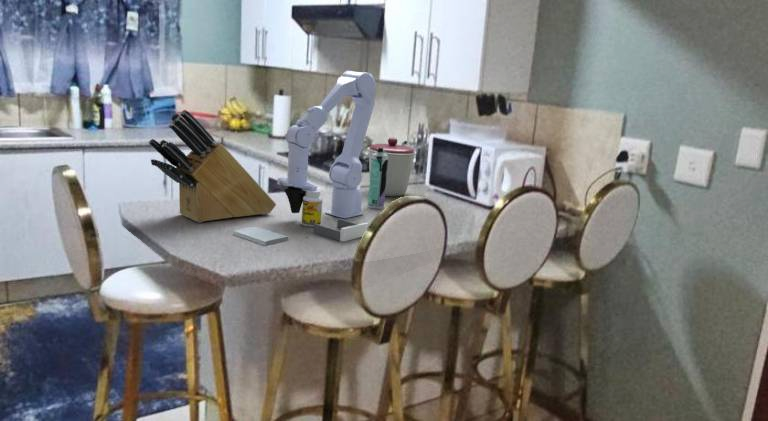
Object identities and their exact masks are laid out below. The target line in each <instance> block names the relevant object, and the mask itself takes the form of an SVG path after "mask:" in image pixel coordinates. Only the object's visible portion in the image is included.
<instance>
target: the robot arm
mask: <svg viewBox="0 0 768 421" xmlns="http://www.w3.org/2000/svg"><path fill="white" fill-rule="evenodd" d="M376 88H377V82H376V81H375V78H374V76H373V74H372V73H370V72H365V71H364V72H361V71H353V70H346V71H345V72H343V73H342V75H341V76H339V77H338V79H337V81H336V84H335V85H334V87H332V89H331V90H330V91H329V93H328V94H327V95H326V96H325V97H324V99H323V100H322V102H321V103H320V104H319V105H313V106H312V107H309V108H308V109H307V112H306V113H305V114H304V115H303V117H301V118H300V119H298V120H297V121H296V124H293V125H290V127H289V128H288V130H287V132H286V133H285V134H284V137H285V140H286V142H287V144H288V147H287V148H288V153H287V154H288V155H287V157H288V158H287V174H286V175H287V176H286V177H284V176H283V177H282V176H281V177H278V178H277V180H276V181H277V182H276V184H277V185H280V186H281V185H282V186H286V187H287V188H284V193H285V195H286V197H287V199H288V203H289V208H290V211H291V214H299V213H300V211H301V208H302V206H303V197H304V196H306V190H308V189H309V190H310V191H317V190H318V185H315V184H311V183H310V182H308V169H309V168H308V166H309V149H310V146H311V145H312V144H313V143H314V140H315V135H316V133H317V132H318V131H319V130H320V129H321V128H322V127H323V126H324V125H325V123H326V122H327V121H328V118H329V116H328V114H329V113H331V111H332V110H333V109H334V108H336V107H337V105H338V104H339V103H341V101H343V99H345V98H346V97H350V98H351V99H352V101H353V103H354V104H355V106H354V108H353V112H352V116H351V120H350V122H349V123H350V124H349V127H348V130H347V134H346V138H345V141H344V145H343V148H342V152H341V153H340V155H338V156H336V158H335V159H334V162H333V164H332V165H331V167H330V168H329V170H328V177H329V180H330V181H331V185H332V192H331V193H332V195H331V207H330V209H331V210H326V211H324V212H325V214H326V215H329V216H330V215H331V216H334V217H337V218H340V219H347V218H352V217H357V216H362V215H364V212H362V204H363V201H362V200H363V192H362V189H361V188H360V187H359V185H360V184H361V183H362V180H363V176H362V171H363V167H364V166H363V164H362V162H361V160H360V156H361V151H362V149H363V145H364V142H365V138H366V135H367V131H368V128H369V124H370V122H371V121H370V120H371V118H372V117H371V116H372V114H373V111H374V106H375V91H376Z"/></svg>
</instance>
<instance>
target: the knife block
mask: <svg viewBox="0 0 768 421" xmlns="http://www.w3.org/2000/svg"><path fill="white" fill-rule="evenodd" d="M170 120H172V121H171V122H170V123H169V124H168V128H170V129H171V130H172V131H173V132H174V134H176V136H177V137H178V138H179V139H180V140H181V142H183V143H184V144H185V145H186V146H187V147H188V148H189V149H190V150H191V151H190V152H189V153H188V154H187V155H186V154H185V153H184V152H183V151H182V150H181V149H180V148H179V147H178V146H177V145H175V143H173V142H168V141H166V140H164V139H162V140H161V141H160V142H158V141H156V139H154V138H151V139H150V140H149V141H148V144H149V145H150V146H151V147H152V148H153V149H155V151H157V152H158V153H159V155H161V156H162V157H163V158H164V159H165V160H166V161H167V162H168V163H166V162H163V161H160V160H157V159H152V158H151V159H150V163H151V165H152V166H155V167H156V168H158V169H159V170H160V171H161V172H162V173H164V174H165V175H166V176H167V177H169V178H170V179H171V180H173V181H174V182H175V183H177V184H178V183H179V184H178V185H179V188H178V189H179V214H180V215H183V217H185V218H188V219H190V220H192V221H195V222H196V223H199V224H201V223H203V222H208V221H215V220H222V219H230V218H239V217H246V216H247V217H248V216H256V215H261V216H263V215H264V216H265V215H266V214H271V212H272V211H273V209H275V207H276V206H277V203H276V202H275V201H274V200H273V199H272V198H271V197H270V196H269V194H268V193H267V192H266V190H264V189H263V188H262V186H261V185H260V184H259V183H258V182H257V180H256V179H254V178H253V176H252V175H251V174H250V173H249V172H248V171H247V170H246V168H244V167H243V166H242V164H241V163H240V162H239V161H238V160H237V158H235V156H233V154H232V153H231V152H230V151H229V150H228V149H227V148H226V147H225V145H223V144H222V143H218V142H216V140H215V138H214V137H213V136H212V135H211V134H210V133H209V132H208V131H207V129H206V128H205V127H204V126H203V125H202V123H200V121H198V119H196V118H195V117H194V115H192V113H190V112H189V111H188V110H187V109H183V110H182V111H181V112H180V114H179V113H175V114H173V115H172V116H171V119H170Z"/></svg>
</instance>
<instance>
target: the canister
mask: <svg viewBox="0 0 768 421" xmlns="http://www.w3.org/2000/svg"><path fill="white" fill-rule="evenodd" d="M378 148H383V151H384V152H385V154H386V155H388V166H387V178H386V189H385V197H399V196H400V197H401V196H404V195H405V194H406V192H407V190H408V187H409V183H410V178H411V174H412V169H413V165H414V158H415V155H416V154H417V151H415V150H414V149H413V148H412V147H409V146H407V145H401V144H398V139H397V138H396V137H394V136H393V137H389V138H388V139H387V143H375V144H372V145H370V146H369V147H367V151H368V162H369V163H368V165H369V166H368V168H369V174H370V172H371V160H372V154H374V153H376V151H377V150H378Z"/></svg>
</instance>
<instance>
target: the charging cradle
mask: <svg viewBox="0 0 768 421" xmlns="http://www.w3.org/2000/svg"><path fill="white" fill-rule="evenodd" d="M368 225H369V226H370V223H369V222H362V223H357V222H354V221H351V220H346V219H345V218H340V217H337V221H336V228H332V227H329V226H326V225H322V224H317V223H315V224H314V227H312V230H313V231H312V232H313V233H314V234H317V235H320V236H324V237H327V238H330V239H333V240H336V241H339V242H341V243H342V242H343V243H344V242H347V241H351V240H355V239H359V238H363V237H362V235H363V234H364V232H365V231H366V229H367V227H368ZM337 228H339V229H340V230H339V229H337Z"/></svg>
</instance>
